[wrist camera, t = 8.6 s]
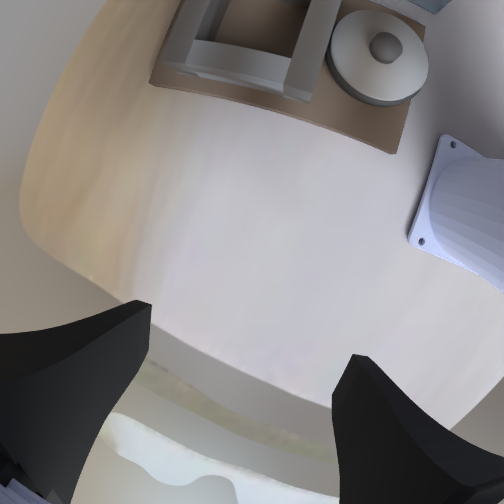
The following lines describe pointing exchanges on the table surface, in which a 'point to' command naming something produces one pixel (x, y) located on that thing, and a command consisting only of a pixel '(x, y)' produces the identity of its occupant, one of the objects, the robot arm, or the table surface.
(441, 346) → the table surface
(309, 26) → the board
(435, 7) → the tray
